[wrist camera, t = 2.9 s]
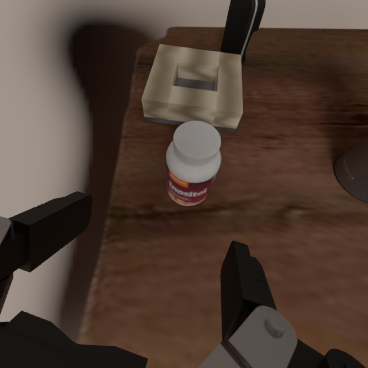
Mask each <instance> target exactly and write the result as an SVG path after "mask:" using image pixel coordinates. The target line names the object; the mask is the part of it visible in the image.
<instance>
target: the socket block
mask: <svg viewBox="0 0 368 368" xmlns="http://www.w3.org/2000/svg"><path fill="white" fill-rule="evenodd" d="M142 105H143V111H144V117H145V121H150V122H157V123H165V124H172V125H182V124H183V123H186V122H189V121H202V122H206V123H208V124H210V125H211V126H213V127H214V128H215V129H216V130H217V131H224V132H232V133H235V130H236V128H237V125H238V123H239V121H240V118H241V116H242V114H243V101H242V72H241V55H237V54H230V53H222V52H215V51H207V50H200V49H192V48H185V47H177V46H170V45H162V44H160V45H159V48H158V51H157V54H156V57H155V60H154V63H153V66H152V69H151V72H150V75H149V78H148V81H147V84H146V87H145V90H144V93H143V97H142Z"/></svg>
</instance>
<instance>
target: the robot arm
mask: <svg viewBox="0 0 368 368" xmlns="http://www.w3.org/2000/svg"><path fill="white" fill-rule="evenodd" d="M334 169H335V174H336V176H337V179H338V180H339V182H340V183H341V185H342V186H343V187H344V188H345V189H346V190H347V191H348V192H349V193H350V194H352V195H353V196H355V197H356V198H358V199H360V200H363V201H365V202H368V137H366V138H365V139H364V140H362V141H361V142H360V143H358V144H357V145H355V146H354V147H353V148H351V149H350V150H349V151H347V152H346V153H345V154H343V155H342V156H340V157H339V158H338V159H337V160H336V163H335V168H334ZM91 208H92V196H91V195H87V194H84V193H81V192H74V193H72V194H70V195H68V196H66V197H61V198H56V199H53V200H50V201H48V202H46V203H45V204H41V205H39V206H37V207H34V208H32V209H29V210H27V211H25V212H22V213H20V214H18V215H15V216H13V217H11V218H8V219H7V218H4V217H0V314H1V311H2V308H3V305H4V302H5V299H6V297H7V294H8V291H9V288H10V285H11V283H12V280H13V272H14V271H15V270H17V269H18V268H19V269H22V270H25V271H27V272H31V271H33V270H34V269H35V268H37V267H38V266H39V265H41V264H42V263H43V262H44V261H46V260H47V259H48V258H50V257H51V256H52V255H53V254H55V253H56V252H57V251H59V250H60V249H61V248H63V247H64V246H65V245H67V244H68V243H69V242H70V241H72V240H73V239H74V238H76V237H77V236H78V235H79V234H81V233H82V232H83V231H85V230H86V228H87V227H88V225H89V223H90V217H91ZM220 278H221V313H222V342H221V343H220V344H219V345H218V346H217V347H216V349H215V350H214V351H213V352H212V353H211V354H210V355H209V356H208V358H207V359H206V360H205V361H204V362H203V363H202V364H201V365H200V367H199V368H365V367H364V366H363V365H362V364H361V363H360V362H359V361H357V360H356V359H355V358H353V357H352V356H351V355H349V354H347V353H346V352H343V351H341V350H338V349H331V350H329V351H328V352H327V354H326V355H325V356H323V355H322V354H320V353H319V352H317V351H316V350H314V349H312V348H311V347H309V346H308V345H306V344H305V343H303V342H302V341H300V340H299V339H298V338H297V335H296V333H295V330H294V328H293V327H292V325H291V324H290V323H289V321H288V320H287V319H286V318H285V317H284V316H283V315H282V314H281V313H279V312H278V311H277V309H276V306H275V303H274V300H273V297H272V294H271V291H270V288H269V285H268V284H267V279H266V277H265V273H264V270H263V267H262V266H261V264H260V263H259V262H258V260H257V259H256V258H255V257H251V256H250V252H249V248H248V245H246V244H243V243H239V242H236V241H232V242H231V244H230V247H229V249H228V252H227V254H226V257H225V259H224V262H223V265H222V268H221V275H220ZM147 361H148V359H147V358H145V357H142V356H139V355H137V354H134V353H131V352H129V351H126V350H124V349H121V348H118V347H116V346H99V345H81V344H76V343H75V342H73V341H72V340H71V339H70V338H69V337H67V336H66V335H65V334H64V333H63V332H62V331H61V330H60V329H59V328H57V327H56V326H55V325H54V324H53V323H52V322H50V321H47V320H45V319H42V318H40V317H36V316H34V315H31V314H29V313H26V312H24V311H21V312H20V313H18V314H17V315H16V316H15V317H14V318H13V319H12V320H11V321H10V322H0V368H145V367H146V364H147Z"/></svg>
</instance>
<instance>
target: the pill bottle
mask: <svg viewBox="0 0 368 368" xmlns="http://www.w3.org/2000/svg"><path fill="white" fill-rule="evenodd" d="M220 145H221V138H220V135H219V133H218V131H217V130H216V129H215V128H214V127H213V126H211V125H210V124H208V123H206V122H202V121H189V122H186V123H183V124H182V125H180V126H179V127H178V128H177V129H176V131H175V133H174V137H173V141H172V142H171V144H170V145H169V147H168V149H167V153H166V177H167V190H168V193H169V195H170V197H171V198H172V199H173V200H174V201H175V202H177V203H179V204H181V205H185V206H192V205H196V204H198V203H200V202H202V201H203V200H204V199H205V197H206V196H207V194H208V192H209V190H210V187H211V185H212V183H213V181H214V178H215V176H216V174H217V172H218V169H219V167H220V164H221V154H220V151H219V148H220Z"/></svg>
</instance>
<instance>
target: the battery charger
mask: <svg viewBox="0 0 368 368" xmlns="http://www.w3.org/2000/svg"><path fill="white" fill-rule="evenodd" d="M265 4H266V3H265V0H231V2H230V6H229V11H228V16H227V21H226V26H225V32H224V37H223V42H222V46H221V50H222V51H223V53H230V54H237V55H241V63H242V62H244V61H245V52H246V48H247V45H248V43H249V40H250V37H251V36H252V34H253V32H255V31H257V30H258V28H259V25H260V22H261V19H262V16H263V13H264V9H265Z"/></svg>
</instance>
